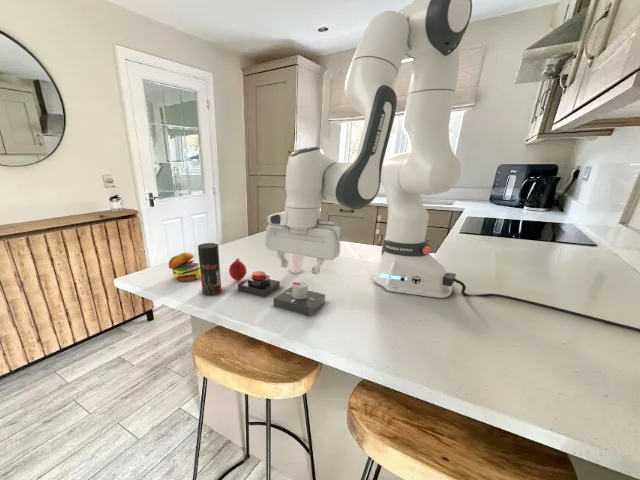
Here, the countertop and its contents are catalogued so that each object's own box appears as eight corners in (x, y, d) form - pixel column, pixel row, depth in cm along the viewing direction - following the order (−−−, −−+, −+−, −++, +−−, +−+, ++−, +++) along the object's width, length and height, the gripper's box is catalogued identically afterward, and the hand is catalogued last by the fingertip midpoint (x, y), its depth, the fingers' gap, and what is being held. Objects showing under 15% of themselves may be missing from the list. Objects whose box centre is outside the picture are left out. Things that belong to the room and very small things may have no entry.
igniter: (279, 287, 98) (279, 276, 97) (264, 297, 92) (264, 285, 90) (254, 281, 104) (254, 270, 102) (237, 290, 97) (237, 278, 95)
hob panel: (324, 302, 88) (325, 293, 86) (309, 316, 80) (309, 307, 79) (291, 294, 93) (291, 286, 92) (273, 306, 86) (273, 297, 85)
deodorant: (218, 296, 93) (214, 248, 87) (199, 295, 94) (194, 248, 88) (223, 288, 98) (220, 243, 93) (205, 288, 99) (201, 242, 93)
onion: (244, 284, 101) (243, 261, 98) (227, 283, 102) (226, 260, 99) (248, 278, 107) (247, 256, 103) (232, 277, 108) (231, 255, 105)
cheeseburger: (193, 283, 102) (183, 255, 99) (168, 287, 107) (158, 260, 104) (208, 273, 111) (200, 247, 108) (185, 277, 116) (176, 251, 113)
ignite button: (267, 277, 97) (267, 272, 96) (260, 281, 94) (260, 276, 93) (257, 275, 99) (257, 270, 98) (249, 279, 96) (249, 274, 95)
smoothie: (307, 270, 113) (309, 232, 108) (300, 275, 108) (301, 236, 103) (292, 267, 116) (293, 230, 111) (284, 272, 111) (284, 234, 106)
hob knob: (310, 295, 86) (311, 282, 85) (303, 300, 83) (303, 287, 81) (296, 291, 89) (296, 279, 87) (288, 297, 85) (289, 284, 84)
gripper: (346, 220, 74) (341, 273, 79) (274, 213, 85) (274, 260, 90) (336, 224, 69) (331, 281, 75) (262, 216, 80) (262, 266, 86)
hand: (299, 269), depth 83 cm, fingers open, 8 cm apart
